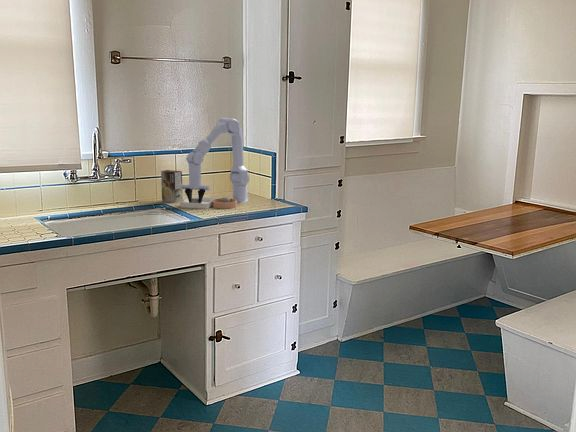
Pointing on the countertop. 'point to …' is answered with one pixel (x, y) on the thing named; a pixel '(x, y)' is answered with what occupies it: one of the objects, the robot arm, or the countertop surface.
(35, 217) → the countertop surface
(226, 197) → the stone
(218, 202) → the bowl
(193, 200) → the stone
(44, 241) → the countertop surface
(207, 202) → the parts tray
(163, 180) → the coffee box
